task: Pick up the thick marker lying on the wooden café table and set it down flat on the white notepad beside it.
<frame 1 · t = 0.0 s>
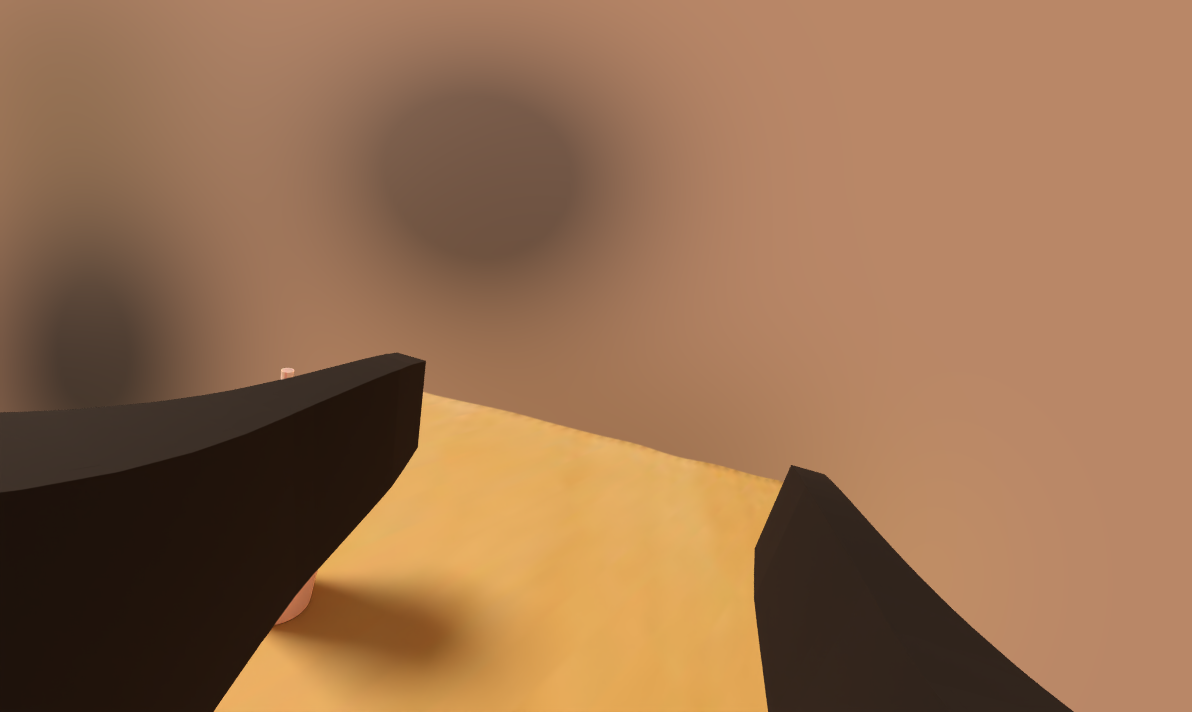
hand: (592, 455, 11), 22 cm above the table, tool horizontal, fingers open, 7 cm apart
smoothie: (274, 602, 31), on the table
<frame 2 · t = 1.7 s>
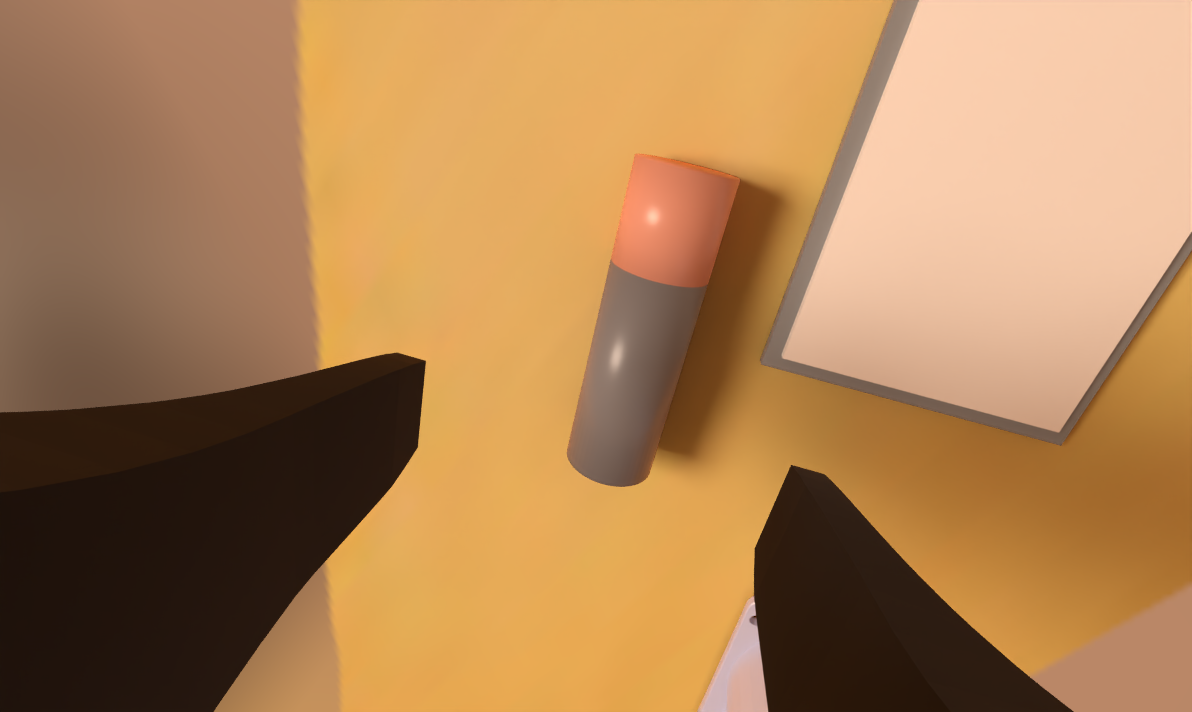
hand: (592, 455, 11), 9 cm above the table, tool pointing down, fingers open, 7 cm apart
notepad: (1004, 200, 16), on the table
marker: (643, 313, 19), on the table, tilted 7°
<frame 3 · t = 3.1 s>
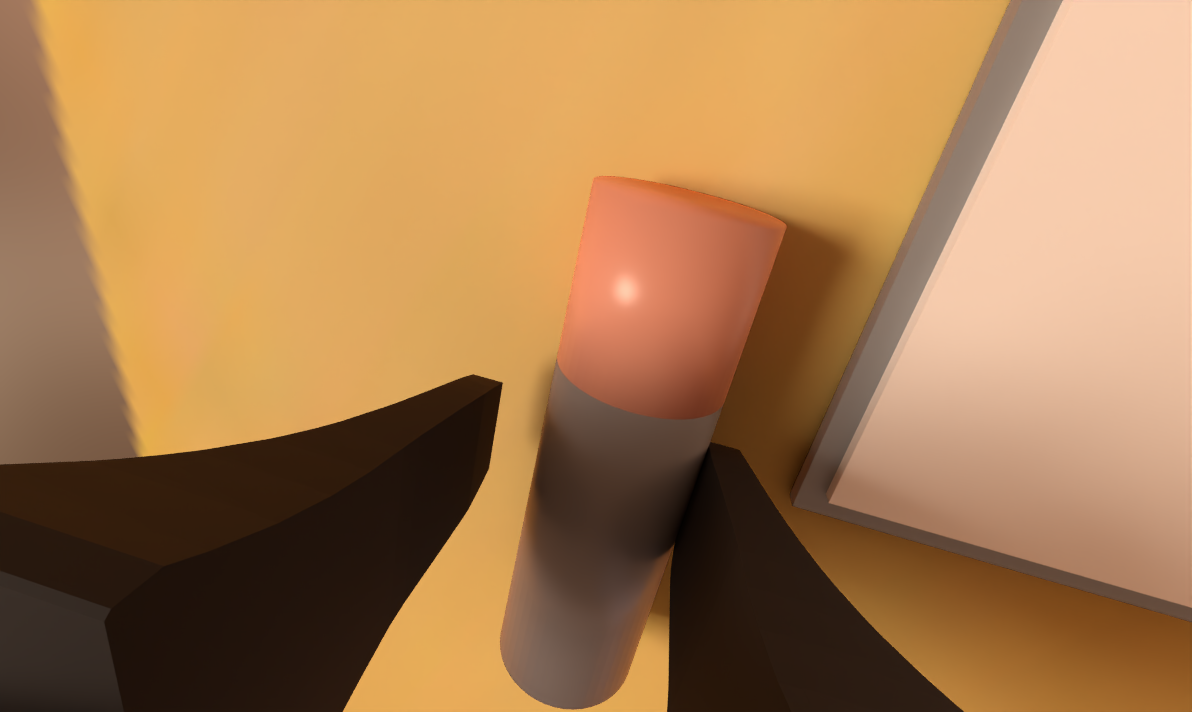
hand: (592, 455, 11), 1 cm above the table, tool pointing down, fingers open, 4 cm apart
marker: (604, 421, 12), on the table, tilted 19°, touching gripper
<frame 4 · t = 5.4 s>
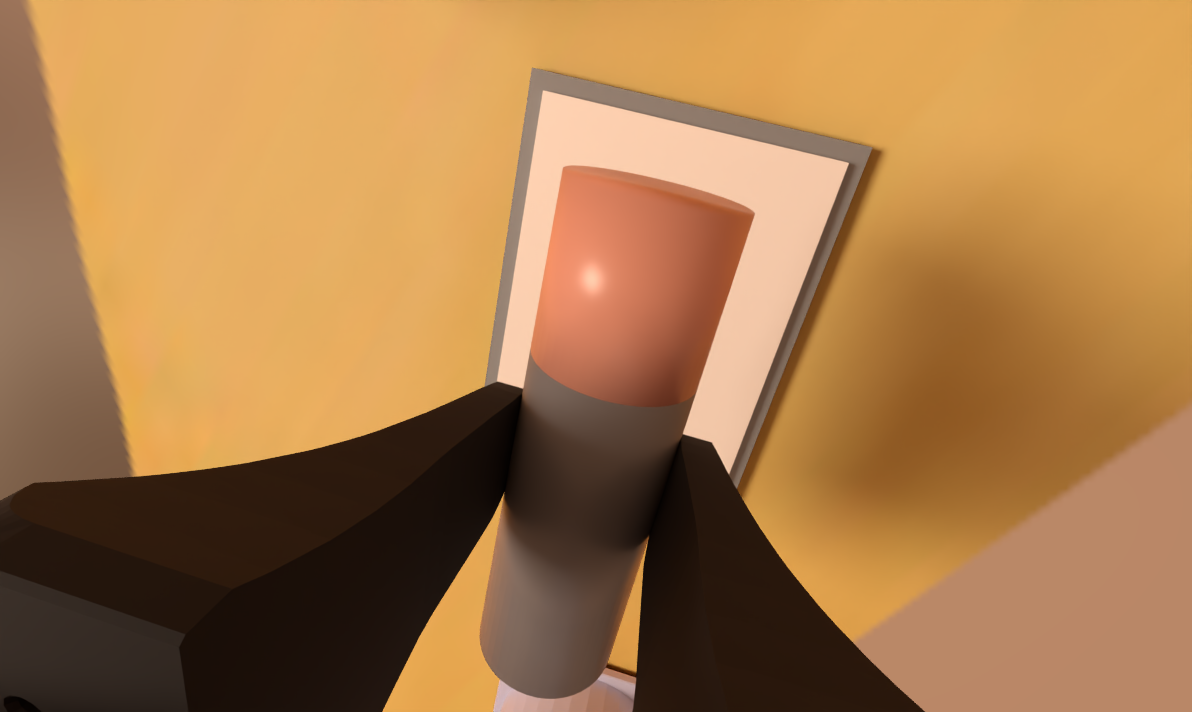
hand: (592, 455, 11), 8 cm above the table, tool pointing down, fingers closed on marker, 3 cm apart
notepad: (641, 318, 18), on the table
marker: (604, 416, 12), point 7 cm above the table, touching gripper
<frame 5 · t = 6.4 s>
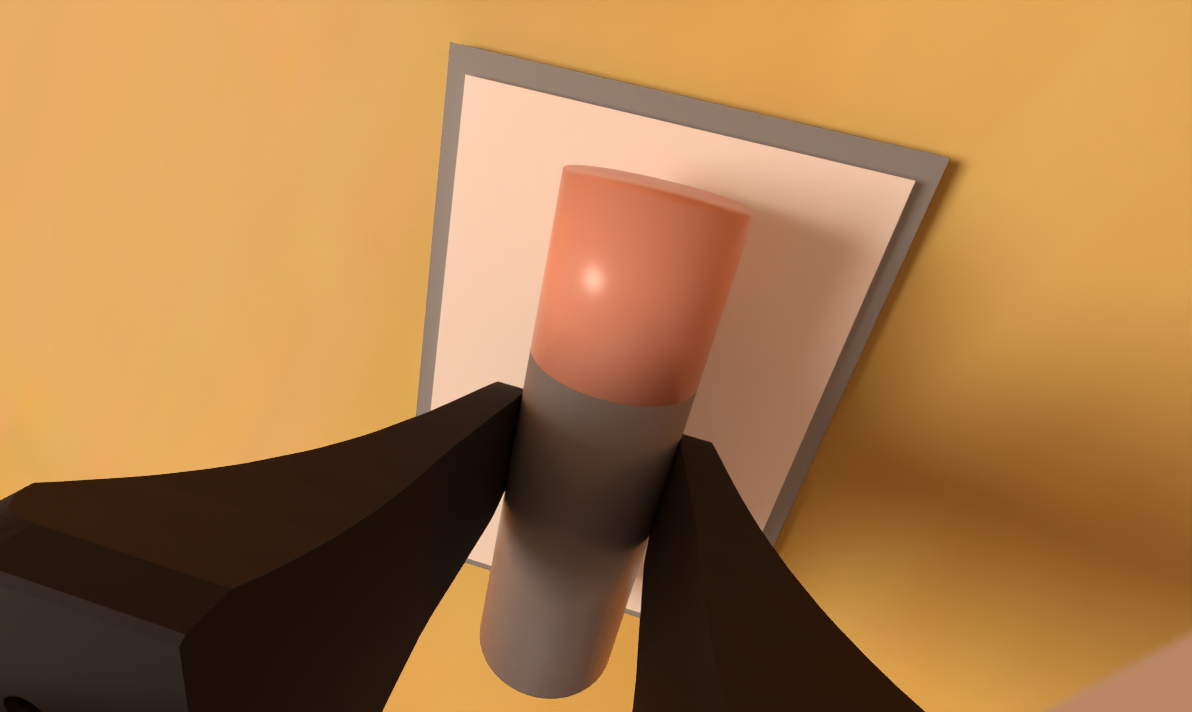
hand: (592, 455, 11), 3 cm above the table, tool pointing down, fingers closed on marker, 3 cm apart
notepad: (615, 388, 13), on the table
marker: (605, 416, 12), point 2 cm above the table, touching gripper
when the fingers open (3 cm above the table, at t = 7.1 s): marker stays where it is, resting on notepad.
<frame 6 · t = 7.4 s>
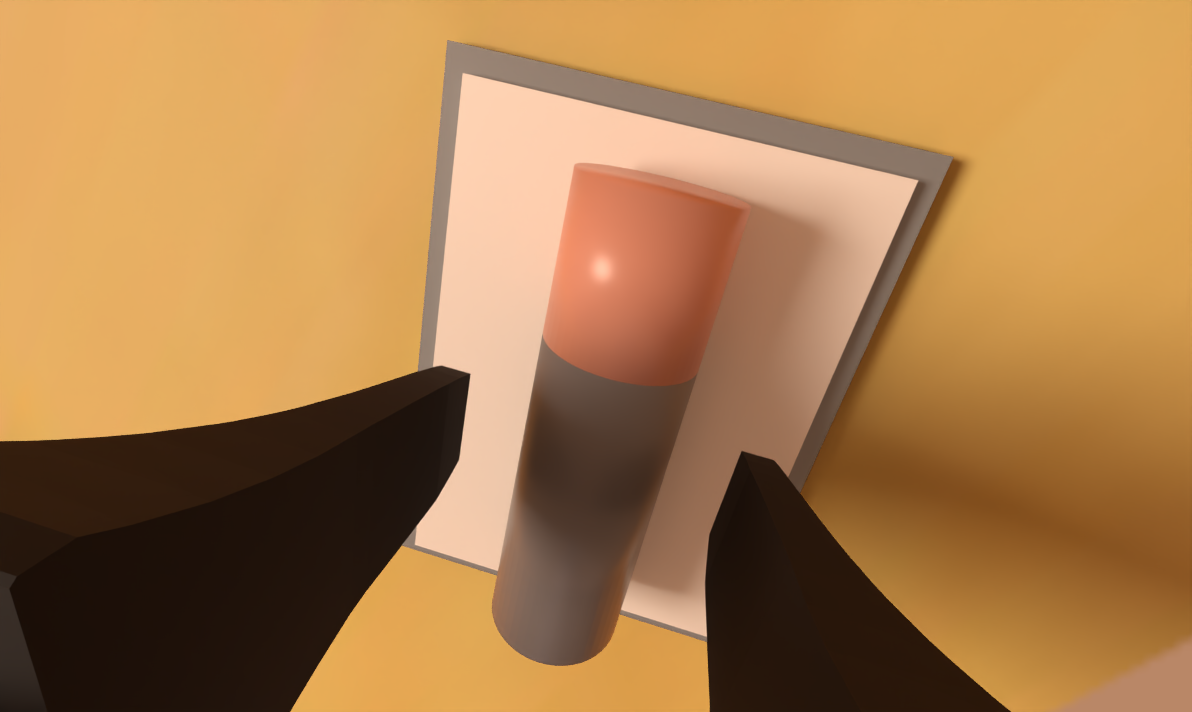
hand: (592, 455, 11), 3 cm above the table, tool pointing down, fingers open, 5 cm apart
notepad: (615, 389, 13), on the table
marker: (610, 401, 13), point 1 cm above the table, touching notepad
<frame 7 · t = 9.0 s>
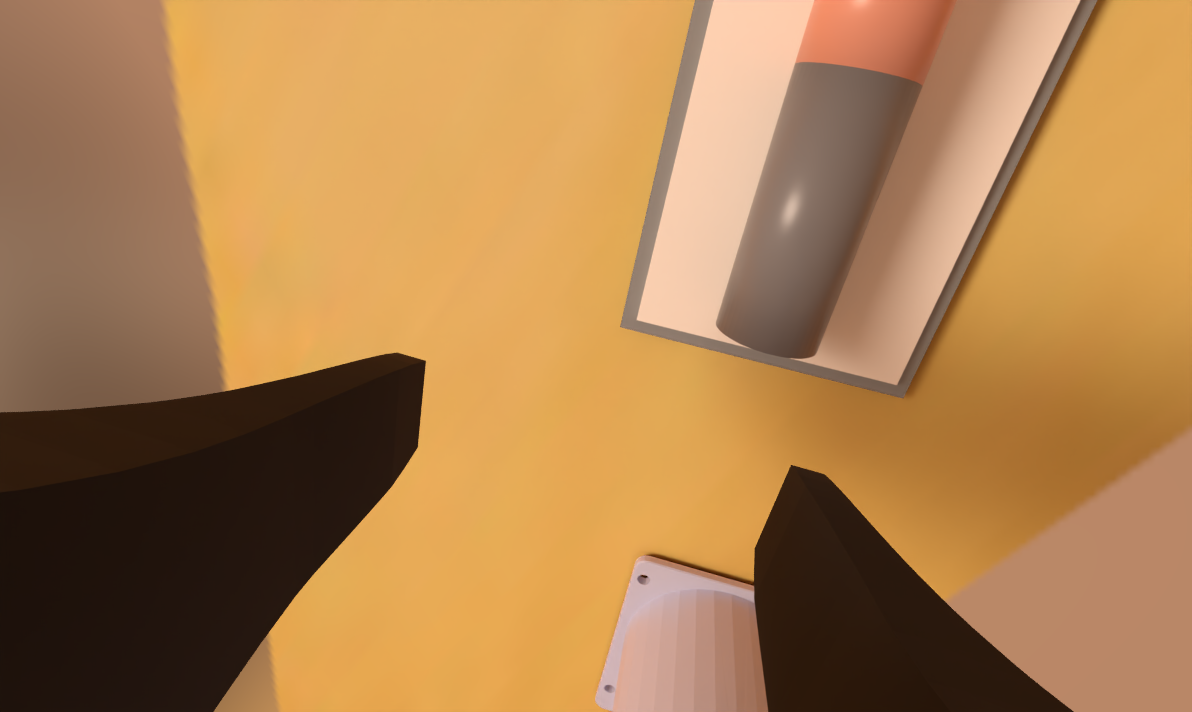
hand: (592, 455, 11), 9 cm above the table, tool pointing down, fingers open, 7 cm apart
notepad: (826, 161, 16), on the table
marker: (831, 160, 16), point 1 cm above the table, tilted 16°, touching notepad
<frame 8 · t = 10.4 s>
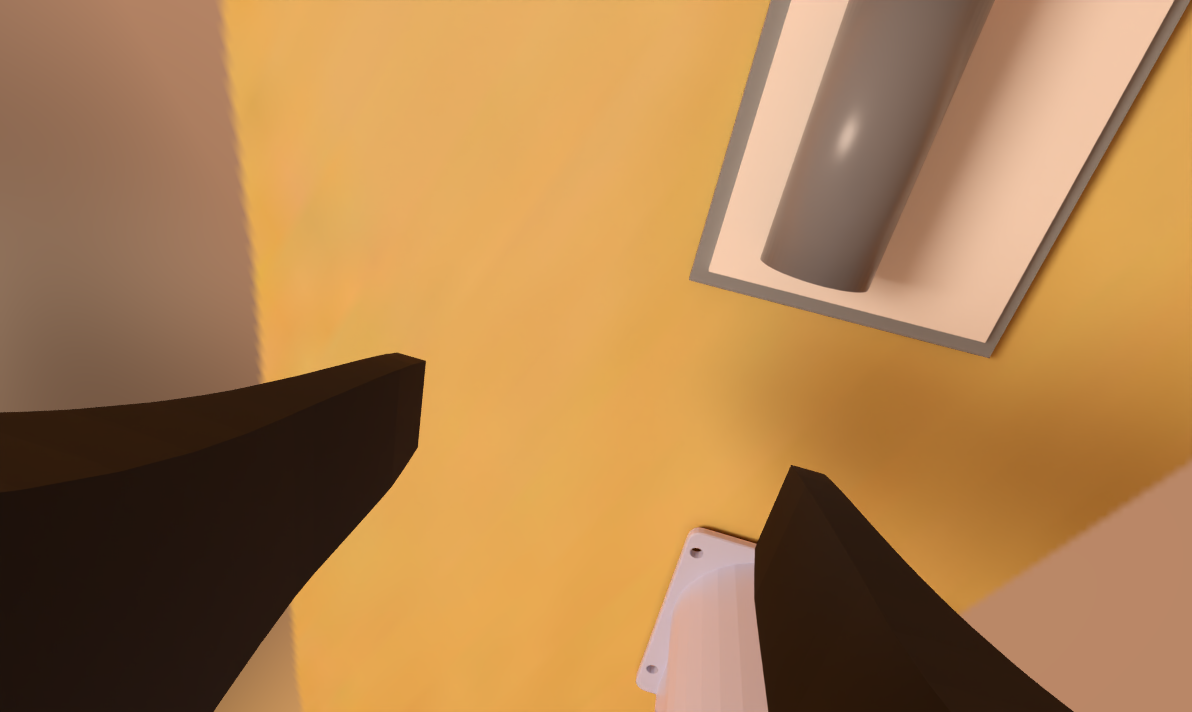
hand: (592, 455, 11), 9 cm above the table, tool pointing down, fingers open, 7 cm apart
notepad: (922, 99, 15), on the table
marker: (932, 91, 14), point 1 cm above the table, tilted 62°, touching notepad
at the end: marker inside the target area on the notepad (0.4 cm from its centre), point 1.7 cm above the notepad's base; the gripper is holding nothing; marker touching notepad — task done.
